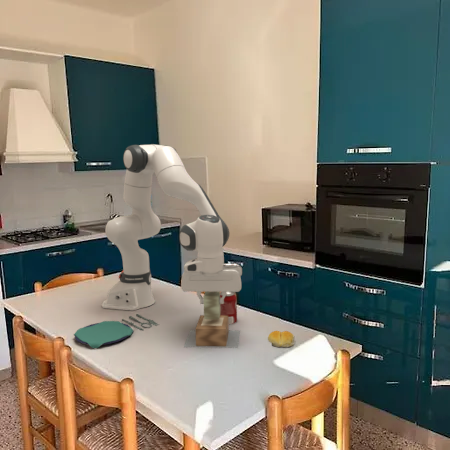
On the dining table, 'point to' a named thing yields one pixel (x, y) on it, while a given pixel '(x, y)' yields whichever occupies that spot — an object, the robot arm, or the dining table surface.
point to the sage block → (211, 305)
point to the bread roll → (281, 338)
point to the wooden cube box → (212, 331)
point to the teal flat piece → (108, 332)
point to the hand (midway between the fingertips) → (212, 303)
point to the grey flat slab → (231, 343)
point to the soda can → (229, 307)
